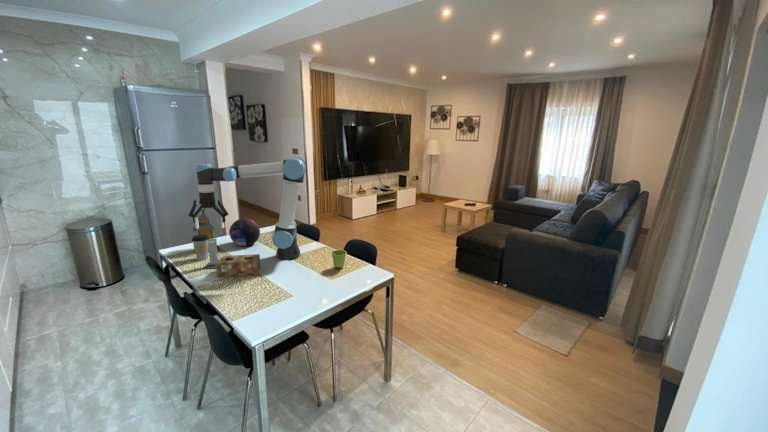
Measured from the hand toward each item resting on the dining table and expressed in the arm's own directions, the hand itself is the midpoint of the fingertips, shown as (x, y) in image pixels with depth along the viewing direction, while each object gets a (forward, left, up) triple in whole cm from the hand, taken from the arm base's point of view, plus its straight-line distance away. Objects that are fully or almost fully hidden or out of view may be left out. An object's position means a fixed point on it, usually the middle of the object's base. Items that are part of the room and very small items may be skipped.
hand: (210, 228), depth 176 cm
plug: (0, 0, -23) cm, 23 cm away
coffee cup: (+11, -13, -24) cm, 29 cm away
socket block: (-17, +12, -23) cm, 31 cm away
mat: (0, 0, -23) cm, 23 cm away
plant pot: (-73, +11, -24) cm, 78 cm away
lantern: (+14, -30, -24) cm, 41 cm away
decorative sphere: (-9, -37, -24) cm, 45 cm away
